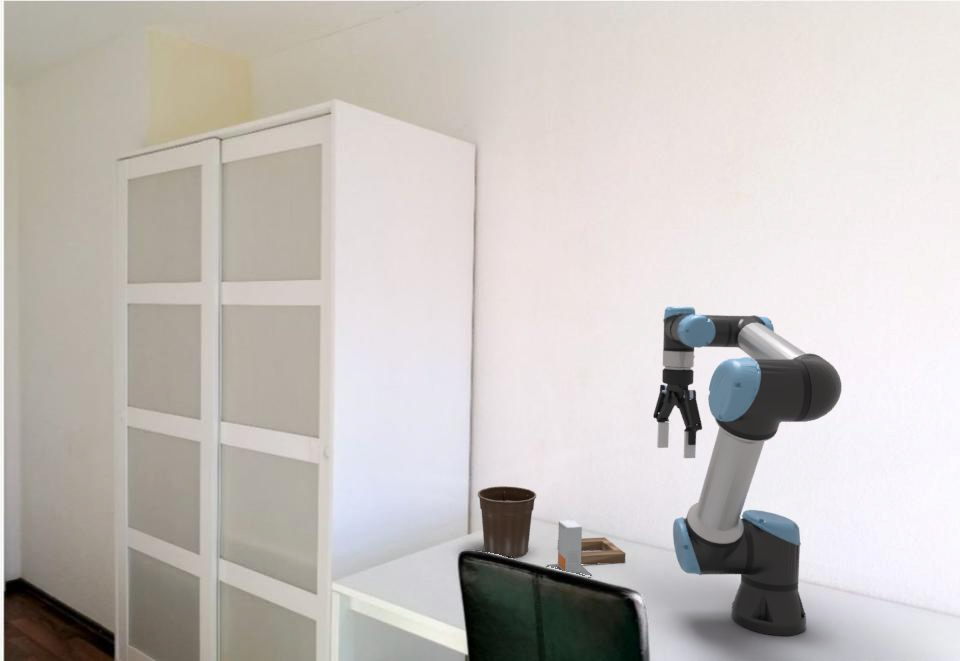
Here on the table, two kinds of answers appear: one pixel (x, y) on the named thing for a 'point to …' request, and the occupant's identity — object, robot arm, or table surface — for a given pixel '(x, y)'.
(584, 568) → the mat
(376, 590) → the table surface
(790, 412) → the robot arm
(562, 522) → the skincare box
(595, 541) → the frame
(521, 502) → the plant pot
